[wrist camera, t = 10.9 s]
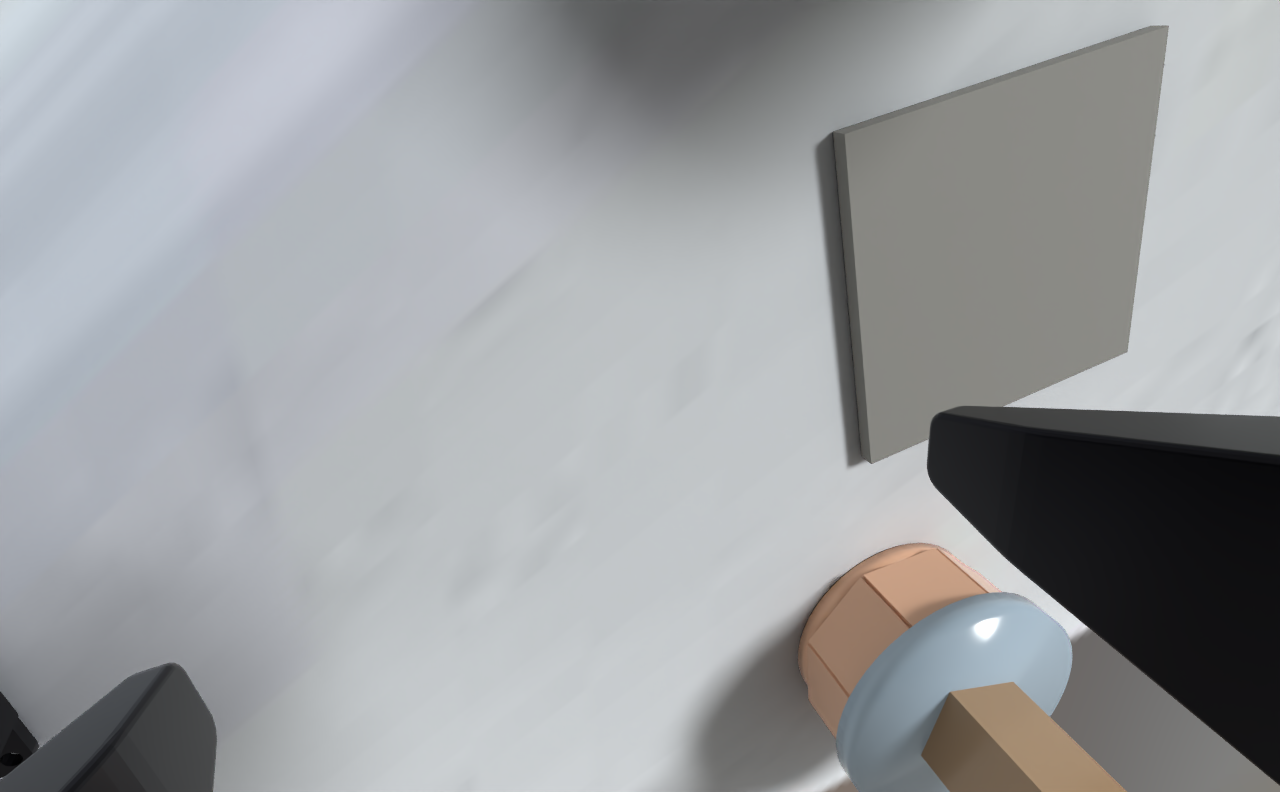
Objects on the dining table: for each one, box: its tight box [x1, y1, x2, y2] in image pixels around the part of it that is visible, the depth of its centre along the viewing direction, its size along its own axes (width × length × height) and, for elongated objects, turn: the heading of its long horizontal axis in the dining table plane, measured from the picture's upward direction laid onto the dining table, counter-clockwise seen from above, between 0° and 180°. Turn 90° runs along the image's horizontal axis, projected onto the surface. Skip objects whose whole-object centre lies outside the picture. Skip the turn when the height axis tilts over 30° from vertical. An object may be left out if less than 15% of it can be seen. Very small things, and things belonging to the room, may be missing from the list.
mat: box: [833, 26, 1169, 464], centre depth 26 cm, size 12×12×1 cm
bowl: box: [798, 543, 1002, 739], centre depth 31 cm, size 9×9×4 cm
